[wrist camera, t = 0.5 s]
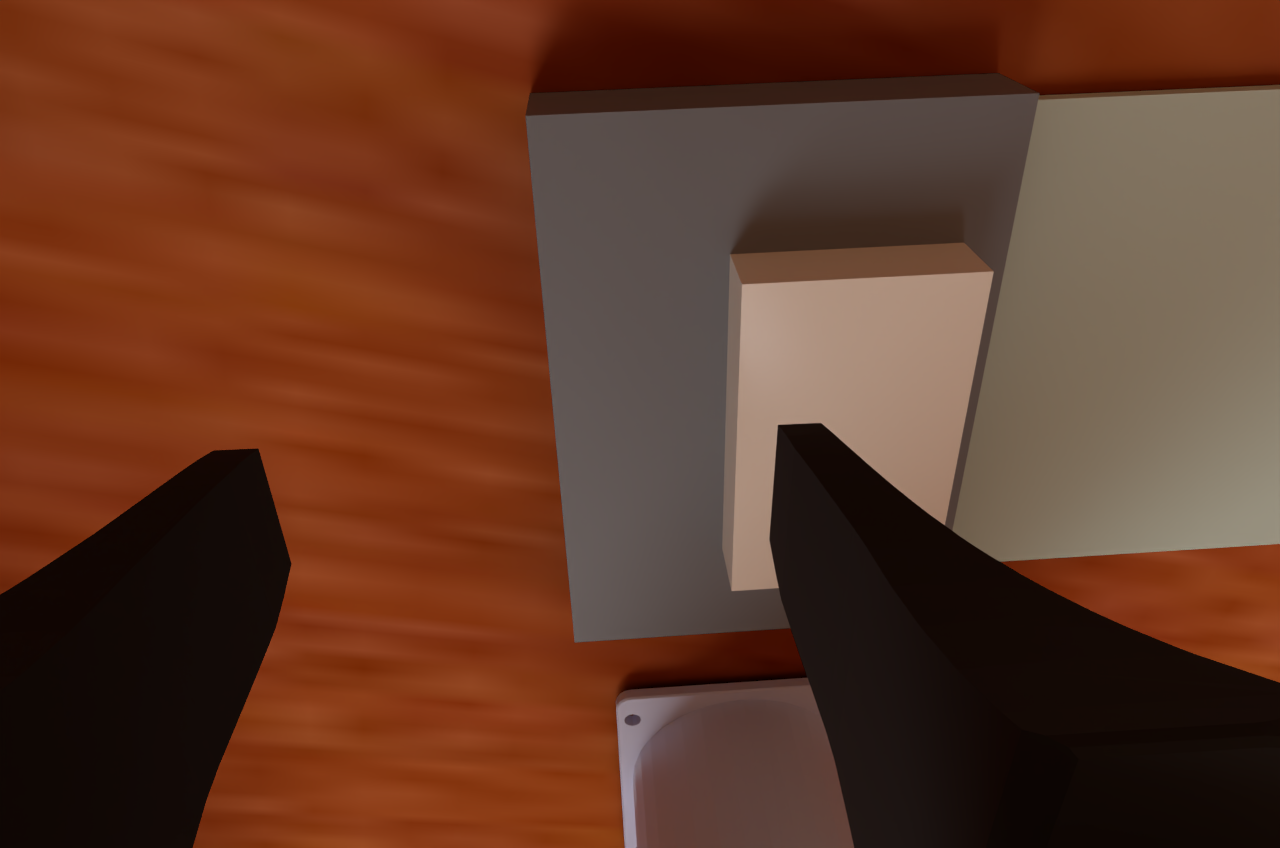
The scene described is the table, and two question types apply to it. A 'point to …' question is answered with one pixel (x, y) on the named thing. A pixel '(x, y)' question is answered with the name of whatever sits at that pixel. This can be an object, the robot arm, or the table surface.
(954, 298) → the coaster tile
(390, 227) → the table surface
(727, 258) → the board
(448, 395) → the table surface
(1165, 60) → the table surface
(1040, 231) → the mat
